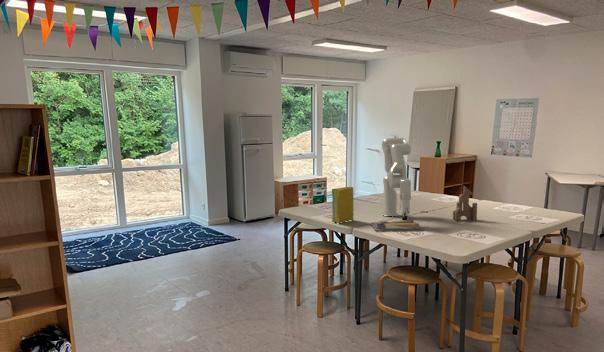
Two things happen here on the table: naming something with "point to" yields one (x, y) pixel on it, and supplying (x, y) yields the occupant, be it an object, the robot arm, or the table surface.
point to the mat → (395, 229)
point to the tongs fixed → (399, 226)
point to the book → (342, 204)
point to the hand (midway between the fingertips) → (404, 222)
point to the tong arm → (395, 222)
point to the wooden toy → (465, 207)
